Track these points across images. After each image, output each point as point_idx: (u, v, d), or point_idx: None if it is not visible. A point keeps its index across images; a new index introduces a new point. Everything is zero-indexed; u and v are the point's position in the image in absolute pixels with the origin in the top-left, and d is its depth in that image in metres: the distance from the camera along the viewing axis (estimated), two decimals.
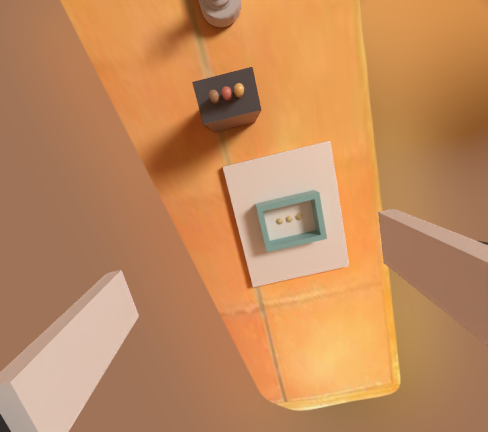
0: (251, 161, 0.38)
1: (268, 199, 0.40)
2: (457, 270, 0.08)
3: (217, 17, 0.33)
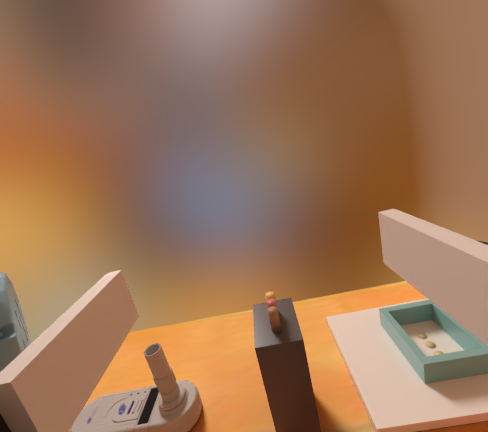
0: (359, 386, 0.28)
1: (410, 367, 0.29)
2: (457, 270, 0.08)
3: (192, 403, 0.29)
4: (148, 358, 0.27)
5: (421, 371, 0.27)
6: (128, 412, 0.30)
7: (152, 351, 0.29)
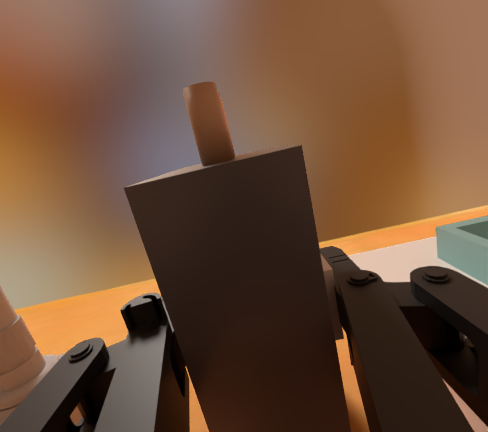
0: None
1: None
2: None
3: None
4: None
5: None
6: None
7: None
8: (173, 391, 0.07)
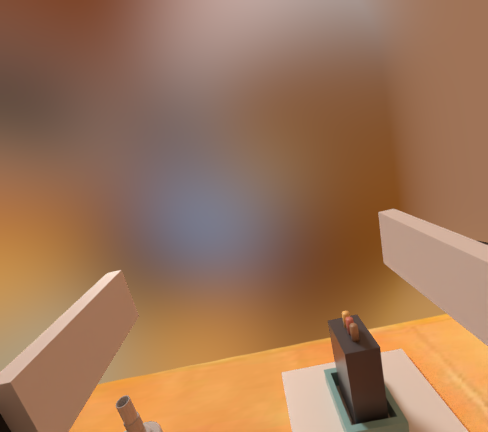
0: None
1: (342, 430, 0.33)
2: (457, 270, 0.08)
3: None
4: (120, 410, 0.34)
5: None
6: None
7: (122, 403, 0.36)
8: None
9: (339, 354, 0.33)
